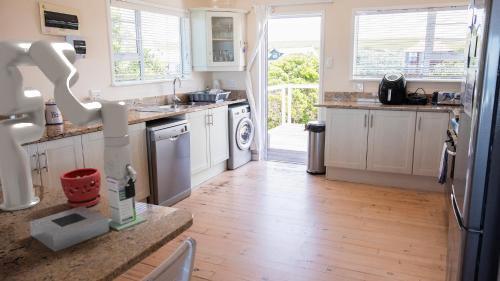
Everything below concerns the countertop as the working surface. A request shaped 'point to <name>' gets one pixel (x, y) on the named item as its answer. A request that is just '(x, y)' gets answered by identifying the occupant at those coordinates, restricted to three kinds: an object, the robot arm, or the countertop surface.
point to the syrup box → (120, 202)
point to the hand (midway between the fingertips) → (121, 194)
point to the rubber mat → (126, 225)
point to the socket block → (69, 227)
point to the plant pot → (81, 187)
